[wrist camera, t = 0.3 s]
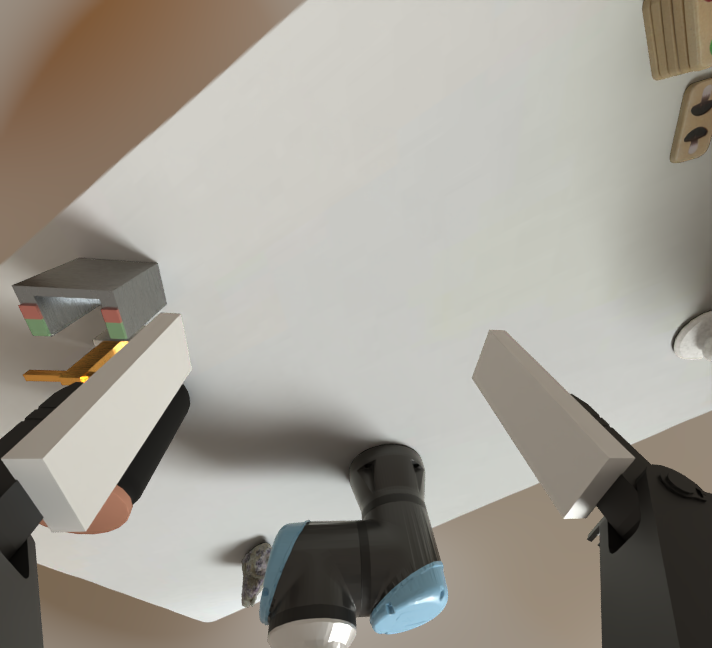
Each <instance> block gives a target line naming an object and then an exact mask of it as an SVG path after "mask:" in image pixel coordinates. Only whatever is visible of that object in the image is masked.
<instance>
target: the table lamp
mask: <svg viewBox="0 0 712 648" xmlns="http://www.w3.org/2000/svg"><path fill="white" fill-rule="evenodd" d="M674 351H675V354H676V355H677V356H678V357H679V358H681V359H688V360H696V359H701V358H704V357H705V358H706V359H707V360H709V361H711V362H712V311H709V312H706V313H703V314H701V315H699V316H698V317H696V318H694V319H693V320H691V321H690V322H689V323H688V324H687V325H686V326H684V327H683V328H682V329H681V331H680V332H679V334H678V335H677V337H676V338H675V343H674Z"/></svg>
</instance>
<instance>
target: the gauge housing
mask: <svg viewBox="0 0 712 648" xmlns="http://www.w3.org/2000/svg"><path fill="white" fill-rule="evenodd" d="M12 287H13V289H14V291H15V293H16V295H17V297H18V299H19V301H20V303H21V304H20V305H18V306H19V308H20V310H21V312H22V314H23V316H24V318H25V320H26V322H27V324H28V326H29V329H30V331H31V333H32V335H33V336H53V335H55V334H56V333H58V332H59V331H61V330H62V329H64V328H66V327H67V326H69V325H70V324H72V323H73V322H75V321H76V320H78V319H79V318H81V317H82V316H84V315H85V314H87V313H89V312H90V311H92V310H93V309H95V308H96V307H98V306H99V305H102V309H101V312H102V315H103V318H104V321H105V323H106V326H107V329H108V332H109V335H110V338H111V339H129V338H130V337H131V336H132V335H133V334H134V333H135V332H137V331H138V330H139V329H140V328H141V327H142V326H143V325H144V324H145V323H146V322H148V321H149V320H150V319H151V318H152V317H153V316H154V315H155V314H156V313H157V312H159V311H160V310H161V309H162V308H163V307H164V306H165V305H166V304H167V302H166V298H165V294H164V289H163V285H162V280H161V276H160V272H159V267H158V263H148V262H133V261H118V260H103V259H88V258H78V259H75V260H73V261H70V262H68V263H66V264H63V265H61V266H58V267H56V268H53V269H51V270H48V271H46V272H44V273H41V274H39V275H36V276H34V277H31V278H29V279H26V280H24V281H21V282H19V283H17V284H14V285H12Z"/></svg>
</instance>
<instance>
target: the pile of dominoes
mask: <svg viewBox="0 0 712 648" xmlns="http://www.w3.org/2000/svg"><path fill="white" fill-rule="evenodd" d="M642 11H643V18H644V25H645V32H646V38H647V45H648V52H649V58H650V65H651V72H652V77H653V79H654V80H662V79H665V78H669V77H672V76H677V75H681V74H684V73H688V72H692V71H701V70H704V69H707V68H709V67H711V66H712V0H644V2H643V7H642ZM711 137H712V77H711V78H708V79H705V80H701V81H698V82H695V83H692V84H691V85H689V86H688V88H687V89H686V91H685V92H684V95H683V99H682V104H681V108H680V113H679V117H678V122H677V126H676V131H675V135H674V140H673V144H672V149H671V153H670V161H671V162H672V163H681V162H684V161H687V160H691V159H694V158H698V157H700V156H701V155H703V154H704V153H705V152H706V151H707V149H708V146H709V144H710V140H711Z"/></svg>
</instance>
